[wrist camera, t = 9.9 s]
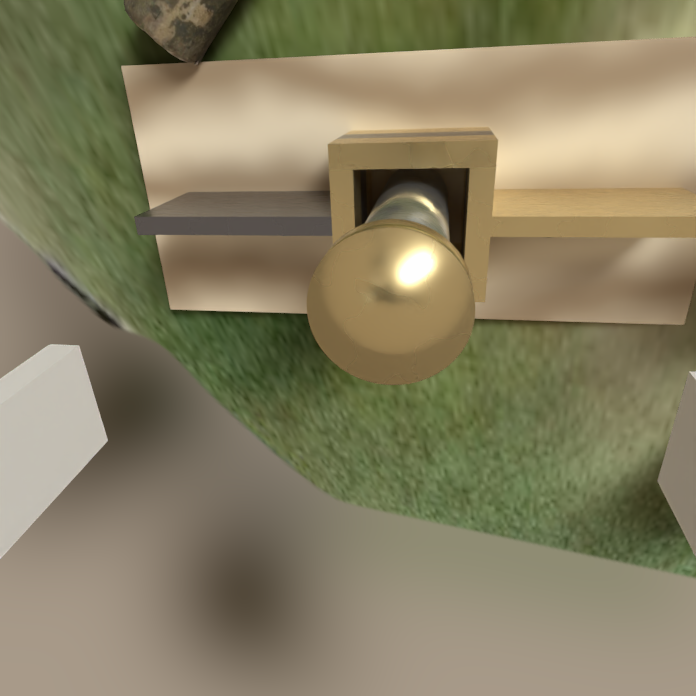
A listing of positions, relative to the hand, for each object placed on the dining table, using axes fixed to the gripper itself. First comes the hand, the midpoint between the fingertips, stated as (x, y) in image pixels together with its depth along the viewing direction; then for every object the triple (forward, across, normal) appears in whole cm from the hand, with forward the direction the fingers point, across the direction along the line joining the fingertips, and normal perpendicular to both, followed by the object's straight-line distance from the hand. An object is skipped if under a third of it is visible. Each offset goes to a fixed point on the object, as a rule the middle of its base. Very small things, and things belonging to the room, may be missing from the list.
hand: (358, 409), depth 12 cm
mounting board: (+25, 0, 0) cm, 25 cm away
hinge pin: (+24, 0, 0) cm, 24 cm away
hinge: (+24, 0, 0) cm, 24 cm away
